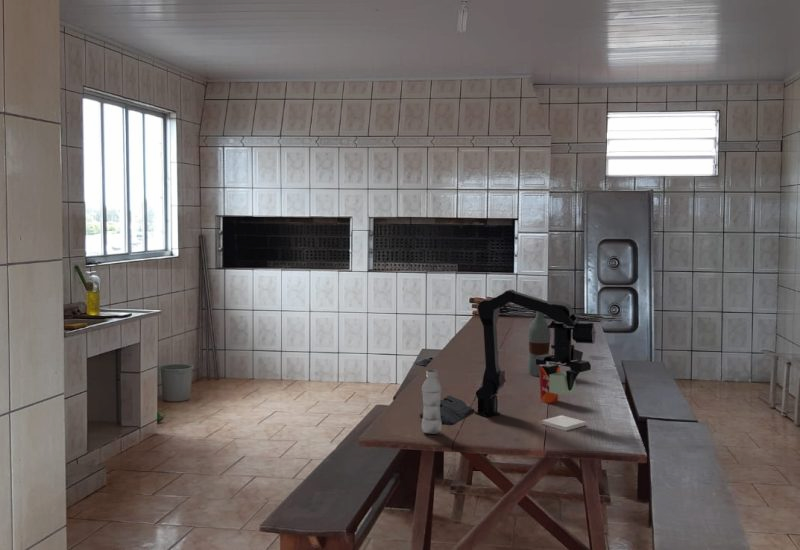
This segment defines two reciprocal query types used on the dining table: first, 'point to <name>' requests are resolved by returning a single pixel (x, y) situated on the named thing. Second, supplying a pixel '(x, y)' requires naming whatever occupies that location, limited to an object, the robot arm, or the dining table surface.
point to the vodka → (538, 342)
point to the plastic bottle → (431, 403)
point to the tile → (563, 422)
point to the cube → (559, 384)
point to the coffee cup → (546, 387)
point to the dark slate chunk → (452, 410)
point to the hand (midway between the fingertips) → (562, 388)
